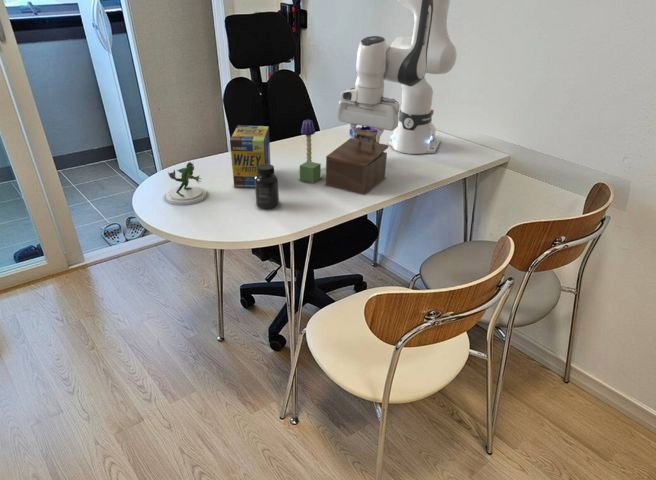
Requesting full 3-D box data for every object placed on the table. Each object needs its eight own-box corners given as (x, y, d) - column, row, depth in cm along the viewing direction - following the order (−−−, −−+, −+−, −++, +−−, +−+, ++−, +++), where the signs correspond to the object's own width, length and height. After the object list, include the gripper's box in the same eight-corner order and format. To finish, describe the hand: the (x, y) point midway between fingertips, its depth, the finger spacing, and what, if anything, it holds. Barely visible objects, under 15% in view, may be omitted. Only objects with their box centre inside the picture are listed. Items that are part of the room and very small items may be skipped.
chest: (348, 170, 172) (349, 145, 167) (384, 178, 166) (387, 152, 161) (325, 185, 160) (326, 158, 155) (363, 194, 154) (365, 167, 149)
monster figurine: (213, 197, 151) (209, 164, 146) (178, 208, 145) (172, 175, 139) (193, 185, 159) (188, 154, 153) (158, 195, 152) (152, 163, 146)
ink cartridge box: (354, 167, 174) (356, 126, 166) (347, 162, 178) (348, 121, 170) (378, 163, 178) (381, 122, 170) (370, 158, 182) (373, 118, 174)
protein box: (233, 188, 157) (229, 139, 149) (241, 170, 170) (237, 124, 162) (266, 188, 157) (263, 140, 149) (271, 170, 170) (269, 125, 162)
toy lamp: (313, 172, 169) (313, 123, 160) (300, 171, 170) (299, 122, 160) (316, 167, 173) (316, 119, 164) (303, 166, 174) (303, 118, 164)
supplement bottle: (284, 205, 147) (282, 166, 141) (267, 212, 143) (264, 173, 136) (268, 198, 151) (266, 160, 144) (251, 205, 147) (248, 166, 140)
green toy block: (307, 175, 167) (307, 160, 164) (320, 178, 165) (320, 163, 162) (299, 179, 164) (299, 165, 161) (312, 183, 162) (312, 168, 159)
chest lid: (350, 140, 166) (350, 125, 163) (388, 147, 161) (389, 132, 158) (326, 158, 155) (325, 143, 152) (365, 167, 149) (365, 151, 146)
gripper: (404, 97, 151) (399, 142, 158) (345, 89, 159) (343, 131, 167) (395, 102, 146) (391, 147, 154) (335, 92, 155) (334, 136, 162)
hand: (366, 139), depth 160 cm, fingers closed on chest lid, 6 cm apart
